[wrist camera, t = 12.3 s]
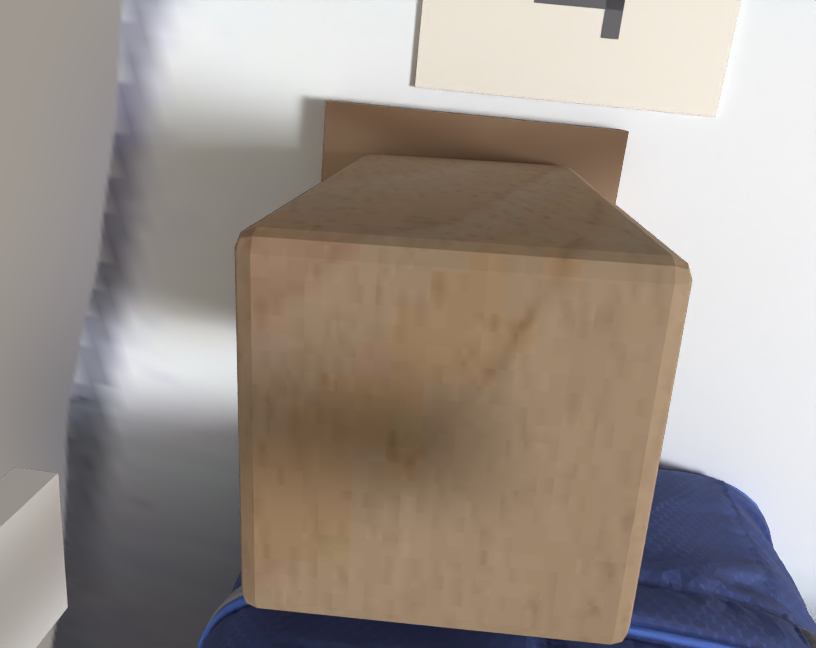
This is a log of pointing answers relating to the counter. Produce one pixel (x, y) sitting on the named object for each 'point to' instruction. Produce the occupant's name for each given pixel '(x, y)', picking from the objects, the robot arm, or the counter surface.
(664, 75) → the tile
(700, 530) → the lunch bag
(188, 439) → the counter surface
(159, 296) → the counter surface
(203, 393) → the counter surface
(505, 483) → the wooden block
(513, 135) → the board
